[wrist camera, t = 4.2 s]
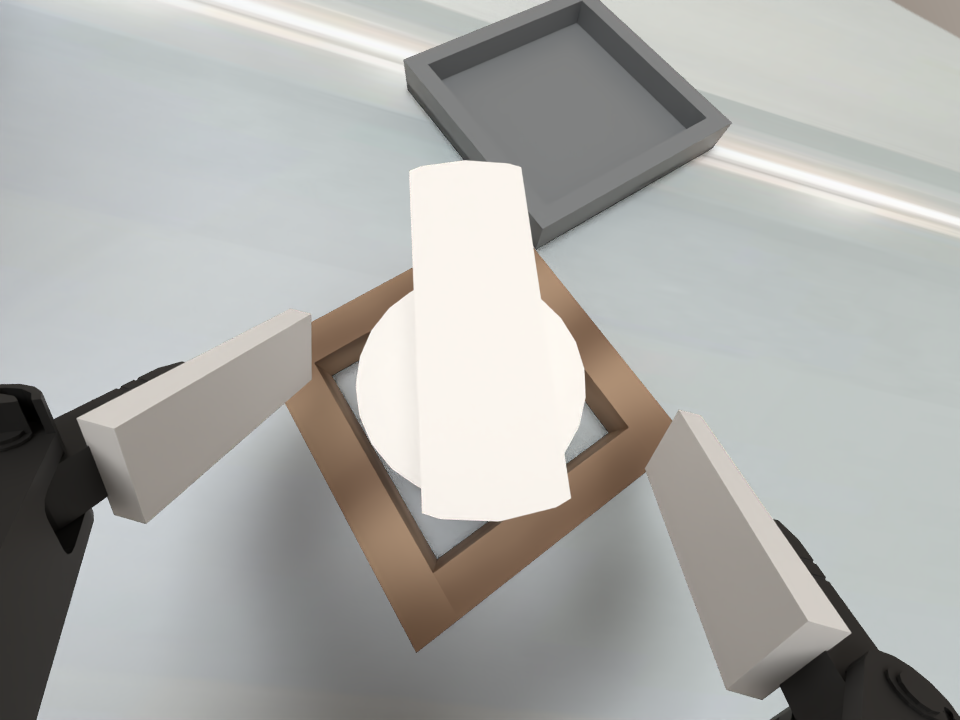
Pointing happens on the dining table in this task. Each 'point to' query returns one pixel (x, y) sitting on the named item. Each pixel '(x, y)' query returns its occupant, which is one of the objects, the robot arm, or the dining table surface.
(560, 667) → the dining table surface
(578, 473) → the walnut collar
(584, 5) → the charcoal tray
